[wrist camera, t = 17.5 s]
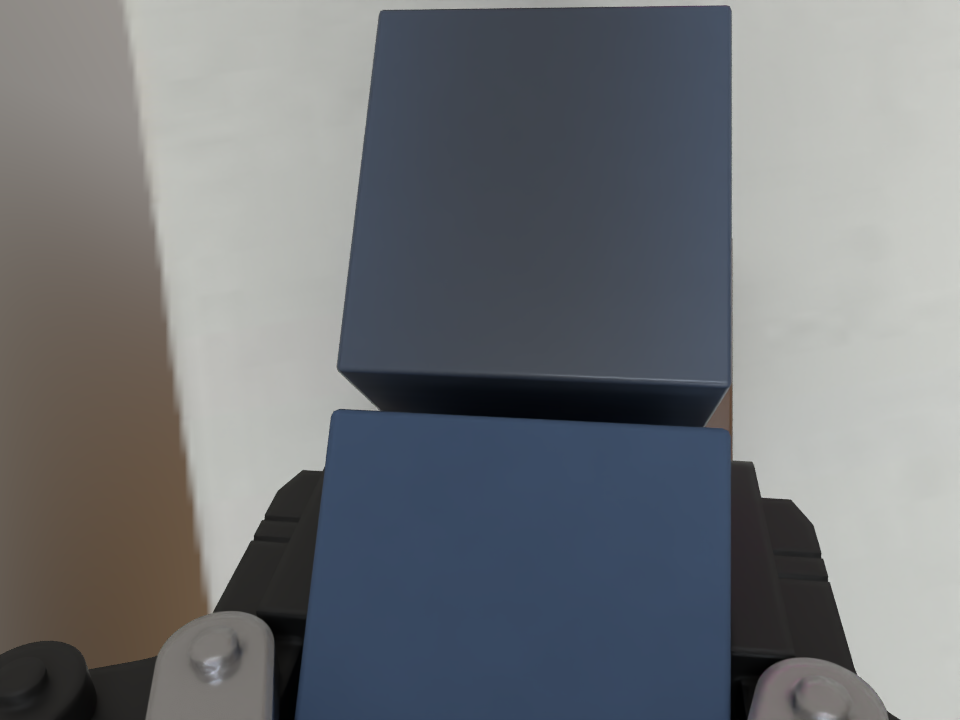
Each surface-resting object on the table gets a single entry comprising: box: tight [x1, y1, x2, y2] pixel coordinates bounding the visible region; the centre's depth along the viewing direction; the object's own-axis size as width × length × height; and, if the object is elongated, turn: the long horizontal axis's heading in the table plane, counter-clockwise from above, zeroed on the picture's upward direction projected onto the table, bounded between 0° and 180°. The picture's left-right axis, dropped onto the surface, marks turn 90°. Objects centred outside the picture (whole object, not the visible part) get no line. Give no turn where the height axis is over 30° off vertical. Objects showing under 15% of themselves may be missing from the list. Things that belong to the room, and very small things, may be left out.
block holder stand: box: [337, 5, 733, 461], centre depth 14 cm, size 7×11×9 cm, turn 176°
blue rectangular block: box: [294, 409, 731, 720], centre depth 13 cm, size 4×5×8 cm
